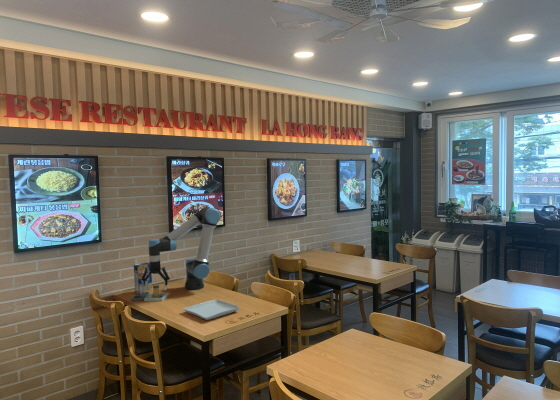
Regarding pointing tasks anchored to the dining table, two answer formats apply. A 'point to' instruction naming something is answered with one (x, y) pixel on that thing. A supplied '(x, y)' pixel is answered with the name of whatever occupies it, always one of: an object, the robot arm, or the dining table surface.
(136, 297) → the fuse block
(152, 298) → the parts tray
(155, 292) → the fuse
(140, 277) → the beverage box
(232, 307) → the square plate
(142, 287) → the fuse
